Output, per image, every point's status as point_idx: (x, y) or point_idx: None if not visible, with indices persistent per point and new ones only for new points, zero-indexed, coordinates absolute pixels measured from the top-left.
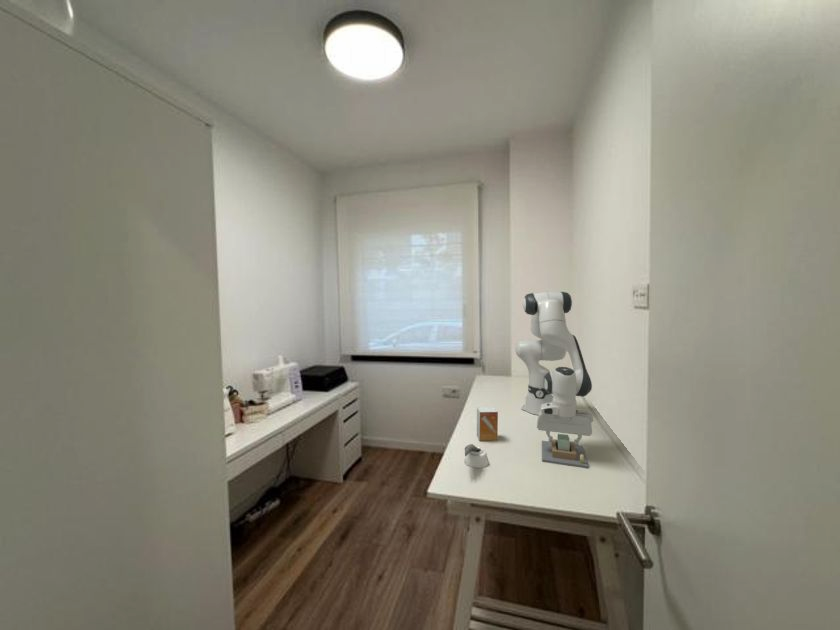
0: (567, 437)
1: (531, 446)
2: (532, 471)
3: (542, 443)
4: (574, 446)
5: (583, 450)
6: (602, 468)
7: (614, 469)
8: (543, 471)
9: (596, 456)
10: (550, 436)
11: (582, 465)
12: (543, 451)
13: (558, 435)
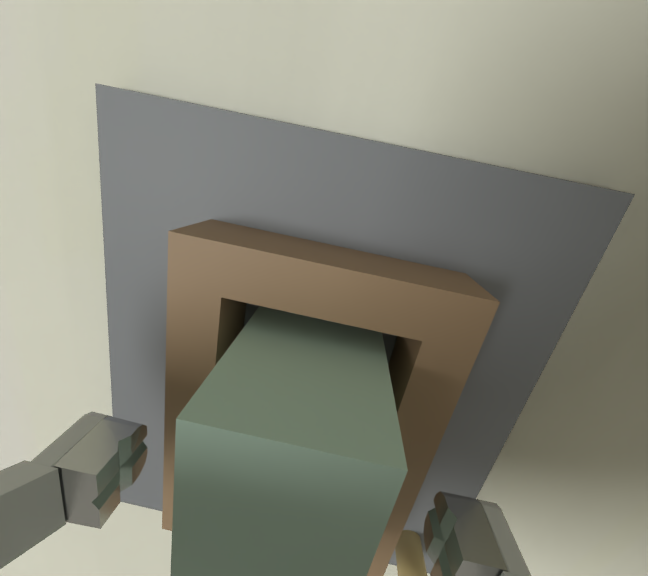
0: (342, 569)
1: (18, 233)
2: (80, 571)
3: (108, 191)
4: (437, 441)
5: (553, 337)
6: (539, 556)
7: (627, 567)
8: (138, 573)
9: (630, 397)
10: (56, 484)
11: (395, 564)
12: (124, 382)
13: (186, 498)
